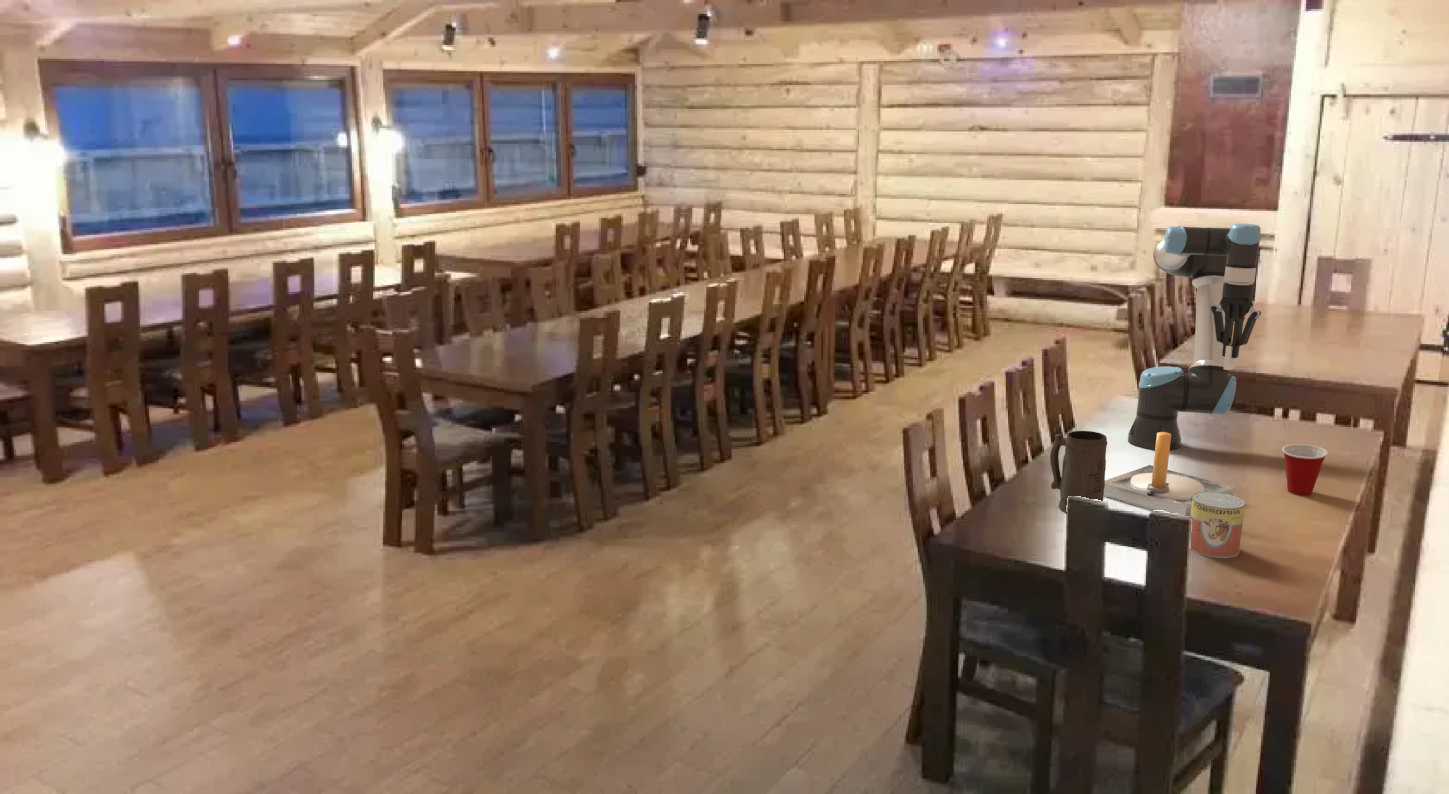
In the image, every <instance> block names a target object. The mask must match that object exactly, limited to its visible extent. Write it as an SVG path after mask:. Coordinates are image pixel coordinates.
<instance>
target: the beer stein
mask: <svg viewBox="0 0 1449 794" xmlns="http://www.w3.org/2000/svg"><path fill="white" fill-rule="evenodd" d="M1107 438H1108V437H1107V436H1106V434H1103V433H1101V432H1097V431H1090V430H1073V431H1070V432H1067V435H1066V437H1064V435H1062V434H1060V433H1056V434H1055V435H1054V441H1053V443H1052V447H1051V449H1050V454H1049V456H1050V457H1049V459H1050V460H1049V463H1050V468H1051V473H1052V475H1053V476H1052V477H1053V479H1052V480H1053V481H1052V482H1051V485H1050V487H1051V489H1052V490H1059V492H1060V493H1059V497H1060V500H1059V502H1058V508H1059V509H1060V510H1061V511H1062V512H1064V513H1066V505H1067V498H1068V496H1081V497H1086V498H1089V499H1098V500H1101V501H1102V502H1103V501H1104V497H1105V496H1104V488H1105V480H1106V479H1105V478H1106V477H1105V476H1106V465H1107V460H1106V456H1107V446H1108V441H1107V440H1108V439H1107ZM1063 446H1064V448H1065V450H1064V451H1065V452H1064V456H1063V460H1062V469H1061V468H1060V461H1059V453H1060V449H1061V447H1063ZM1060 469H1061V470H1060Z"/></svg>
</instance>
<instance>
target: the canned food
mask: <svg viewBox="0 0 1449 794" xmlns="http://www.w3.org/2000/svg"><path fill="white" fill-rule="evenodd" d="M1245 509H1246V501H1245V500H1244V499H1242V498H1240V496H1237V495H1234V494H1233V495H1230V494H1225V493H1219V492H1199V493H1195V494H1194V495H1193V496H1192V506H1191V515H1190V518H1189V520H1190V519H1192V532H1191V550H1190V551H1191V552H1193V553H1195V554H1198V555H1201V556H1204V557H1209V558H1215V559H1230V558H1235V557H1237V556H1238V555H1239V554H1240V547H1241V541H1242V539H1241V538H1242V531H1243V522H1244V516H1245Z"/></svg>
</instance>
